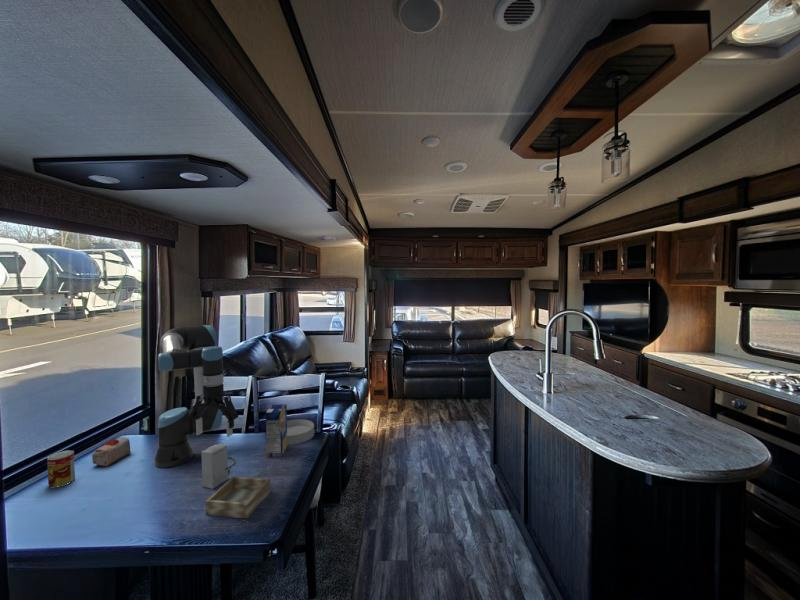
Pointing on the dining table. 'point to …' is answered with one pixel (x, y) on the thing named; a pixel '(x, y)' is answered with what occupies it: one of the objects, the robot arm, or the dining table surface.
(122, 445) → the food item
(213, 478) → the skincare box
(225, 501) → the birch box
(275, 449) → the beverage box
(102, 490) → the dining table surface
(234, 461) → the extension cord
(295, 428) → the dish
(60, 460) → the canned food
